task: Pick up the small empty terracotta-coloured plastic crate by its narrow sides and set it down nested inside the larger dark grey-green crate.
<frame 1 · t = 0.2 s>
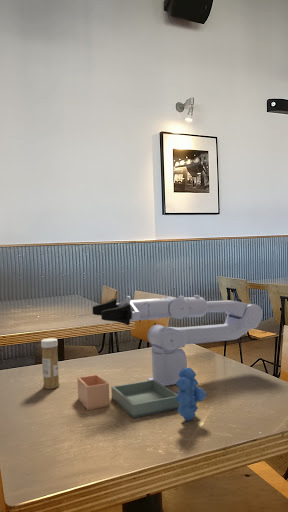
hand: (97, 312, 118), 21 cm above the table, tool horizontal, fingers open, 7 cm apart
base crate: (144, 403, 109), on the table
grapes: (192, 421, 97), on the table
small crate: (93, 402, 111), on the table
sprinkles bottle: (51, 387, 125), on the table
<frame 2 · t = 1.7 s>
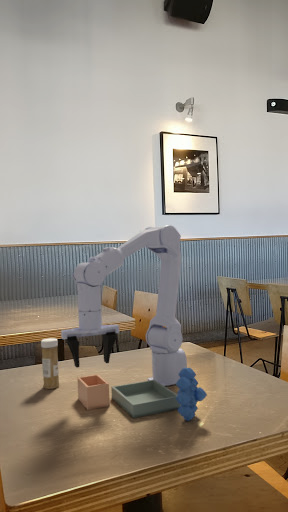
hand: (92, 364, 111), 10 cm above the table, tool pointing down, fingers open, 7 cm apart
nothing on the table moved.
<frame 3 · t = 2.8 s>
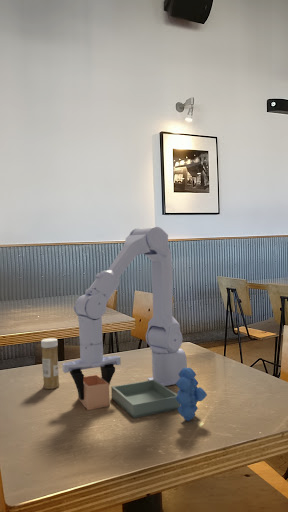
hand: (93, 396, 111), 1 cm above the table, tool pointing down, fingers closed on small crate, 5 cm apart
small crate: (93, 402, 111), on the table, touching gripper
everything else where it was.
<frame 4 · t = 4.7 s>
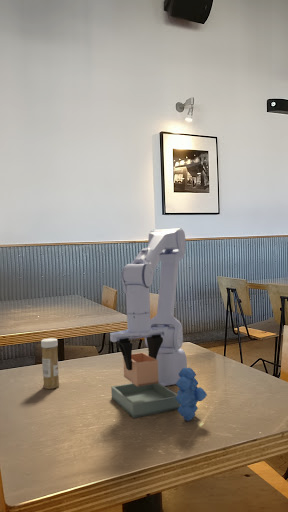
hand: (140, 367, 109), 9 cm above the table, tool pointing down, fingers closed on small crate, 5 cm apart
small crate: (140, 379, 109), point 6 cm above the table, touching gripper
everything else where it was.
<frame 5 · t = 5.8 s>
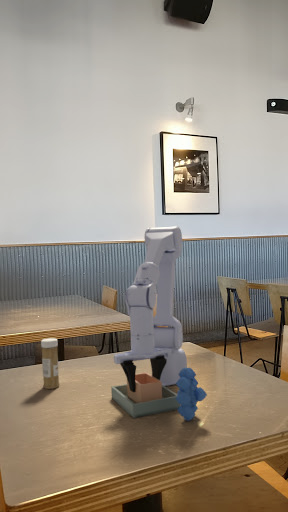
hand: (144, 388, 109), 4 cm above the table, tool pointing down, fingers closed on small crate, 5 cm apart
base crate: (144, 403, 109), on the table, touching small crate
small crate: (144, 400, 109), point 1 cm above the table, touching base crate, gripper
everything else where it was.
when the fingers open (3 cm above the table, at t = 6.4 s): small crate stays where it is, resting on base crate.
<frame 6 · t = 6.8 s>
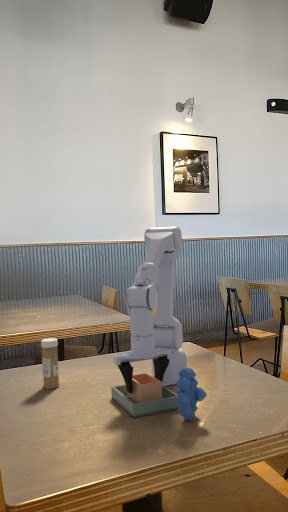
hand: (144, 389, 109), 3 cm above the table, tool pointing down, fingers open, 7 cm apart
small crate: (144, 400, 109), point 1 cm above the table, touching base crate
everything else where it was.
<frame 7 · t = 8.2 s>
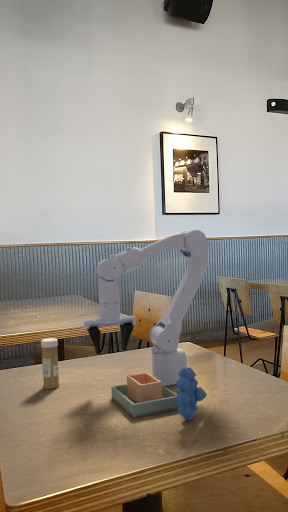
hand: (111, 351, 122), 10 cm above the table, tool pointing down, fingers open, 7 cm apart
nothing on the table moved.
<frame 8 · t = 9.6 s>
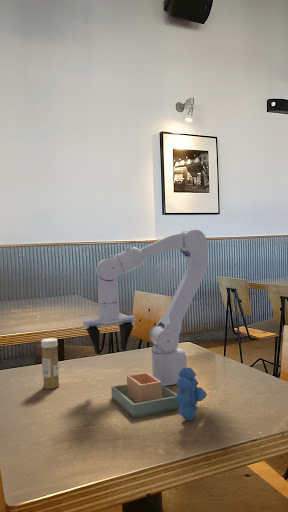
hand: (110, 351, 123), 10 cm above the table, tool pointing down, fingers open, 7 cm apart
nothing on the table moved.
at the end: small crate inside the target area on the base crate (0.1 cm from its centre), point 0.6 cm above the base crate's base; small crate tilted 0°; the gripper is holding nothing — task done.
